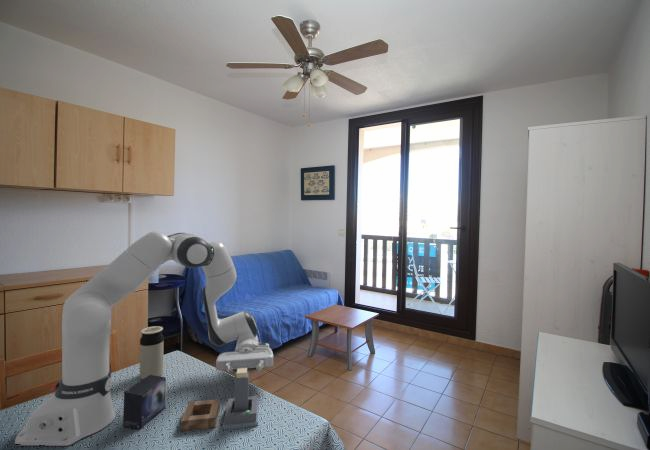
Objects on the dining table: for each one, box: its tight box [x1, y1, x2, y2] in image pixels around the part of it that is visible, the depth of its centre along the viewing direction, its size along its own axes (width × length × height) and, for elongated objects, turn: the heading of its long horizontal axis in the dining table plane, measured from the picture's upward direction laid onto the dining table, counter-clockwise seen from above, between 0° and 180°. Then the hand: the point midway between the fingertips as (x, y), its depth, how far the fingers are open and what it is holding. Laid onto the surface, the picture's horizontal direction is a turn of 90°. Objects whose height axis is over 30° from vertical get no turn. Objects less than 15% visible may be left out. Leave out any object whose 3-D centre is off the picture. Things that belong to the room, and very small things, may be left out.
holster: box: [180, 398, 221, 432], centre depth 94 cm, size 9×9×3 cm
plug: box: [233, 368, 250, 412], centre depth 95 cm, size 4×4×14 cm
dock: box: [222, 395, 259, 430], centre depth 95 cm, size 10×10×4 cm
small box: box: [122, 375, 167, 430], centre depth 94 cm, size 11×6×10 cm, turn 168°
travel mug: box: [139, 325, 165, 380], centre depth 119 cm, size 8×8×18 cm
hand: (244, 370), depth 105 cm, fingers open, 8 cm apart
